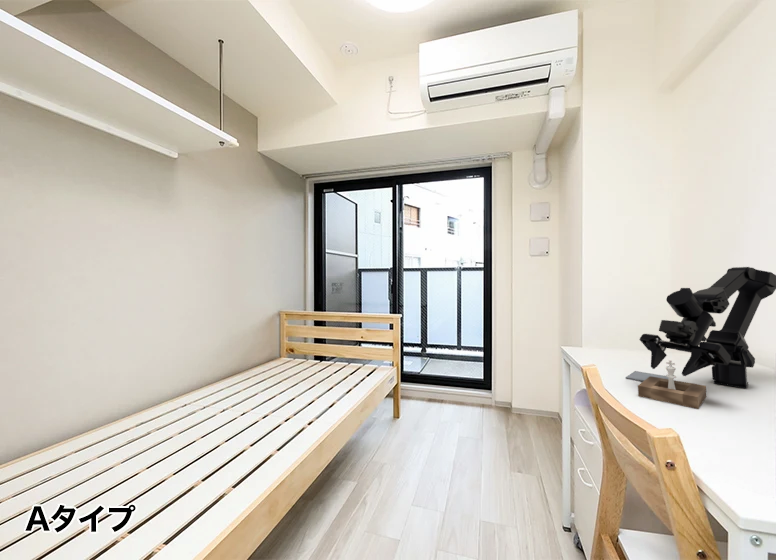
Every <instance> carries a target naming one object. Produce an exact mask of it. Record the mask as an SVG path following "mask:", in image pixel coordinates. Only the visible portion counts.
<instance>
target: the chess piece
mask: <svg viewBox="0 0 776 560" xmlns="http://www.w3.org/2000/svg"><path fill="white" fill-rule="evenodd" d="M665 364H666V365H668V366H666V367H665V369H666V371H667V374H666V375H665V376H666V377H669V382H668V388H669V389H674V390H676V389H675V385H674V380H675V379H676V378H677V376H676V375H674V374H675V372H676V367H674V366H675V365H676V364H675V362H673V361H672V360H668V361H667V362H665ZM673 378H674V379H673Z"/></svg>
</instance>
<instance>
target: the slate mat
mask: <svg viewBox="0 0 776 560" xmlns="http://www.w3.org/2000/svg"><path fill="white" fill-rule="evenodd" d="M650 376H652V377H657V378H663V379H669V377H666V375H664V374H663V375H662V374H656V373H651V372H645V371H638V370H634V371H633V372H631V373H630V374H629V375H627V376H625V380H630V381H631V380H632V381H636V382H640V383H642V382H643V381H644V380H646V379H647V378H648V377H650ZM673 379H674V380H675V378H673Z"/></svg>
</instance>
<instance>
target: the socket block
mask: <svg viewBox="0 0 776 560" xmlns="http://www.w3.org/2000/svg"><path fill="white" fill-rule="evenodd" d="M668 382H669V379H663V378H657V377H652V376H650V377H648V378H647V379H646V380H644V381H643V382H640V383H639V384H638V385H637V393H638V394H637V396H638V397H641V398H645V399H649V400H654V401H659V402H663V403H669V404H673V405H679V406H683V407H688V408H692V409H697V410H699V409H700V407H701V406H702V404H703V403H704V401H705V400H706V398H707V385H702V384H697V383H692V382H687V381H680V380H675V379H674V385H675V389H676V390H674V389H669V388H668Z"/></svg>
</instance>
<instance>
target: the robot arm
mask: <svg viewBox="0 0 776 560" xmlns="http://www.w3.org/2000/svg"><path fill="white" fill-rule="evenodd" d="M775 291H776V274H775V273H773V272H771V271H765V270H762V269H761V270H760V269H756V268H755V267H750V266H741V267H740V266H739V267H738V266H737V267H734V266H733V267H730V268H728V269H727V270H726V273H725V274H723V276H722V277H720V278H719V279H717V281H716V282H714V283H713V284H711V286H710V287H708V288H704V289H700V290H697V291H695V292H693V291H692V289H691V287H681V288H680V289H679V290H676V291H674V292H672V293H670V294H668V295H667V296H666V302H667V303H668V305H669V307H670V308H671V309H672V310H673V311H674V313H675V314H676V315H677V316H678V317H680V318H682V319H681V321H677V320H667V319H661V320H660V324H659V328H658V332H661V333H664V334H665V336H664V337H665V338H667V339H668V340H663V339H662V338H661V337H660V335H658V334H651V333H643V334H642V335H641V336H640V337H639V341H640V342H641V344H643V346H644V347H645V348H646V349H647V350H648V351H650V353H651V355H650V368H652V370H655V369H656V368H657V367H658V366H659V365H660V364H661V363H662V362H663V361H664V359H666V357H667V356H668V355H667V354H666V352H665V351H666V350H667V349H668V350H669V349H670V350H676V351H679V352H685V353H690V357H689V359H688V360H687V362H686V363H685V365H684V367H683V369H682V371H681V375H682V376H683V377H687V376H689V375H691V374H693V373H695V372H697V371H700V370H701V369H704V368H706V367H709V366H711V374H712V375H711V376H712V377H711V379H712V381H713V383H714V384H717V385H721V386H729V387H735V388H740V389H747V388H748V385H749V381H748V375H747V373H748V372H747V368H754V367H755V364H756V362H755V361H756V358H755V357H754V356H753V354H752V353H751V351H750V350H749V345H748V343H747V341H746V339H745V337H746V334H747V332H748V330H749V328H750V325H751V324H752V321H753V319H754V317H755V315H756V312H757V310H758V308H759V305H760V304H761V301H763V300H764V299H765V298H768V297H770V296H772V295H773V294H774V293H775ZM736 292H738V294H737V296H736V299H735V301H734V303H733V305H732V307H731V309H730V311H729V313H728V315H727V318H726V319H725V321H724V323H723V326H722V328H721V329H720V330H716V329H712V330H710V332H709V333H708V337H706V333H707V332H708V330H709V328H710V327H713V328H714V327H716V326H717V324H716V322H715V320H714V317H713V316H712V314H719V315H721V314H723V313H724V312H725V311H726V310H727V309H728V307H730V302H729V299H730V298H731V296H733V295H734V294H735V293H736Z"/></svg>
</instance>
